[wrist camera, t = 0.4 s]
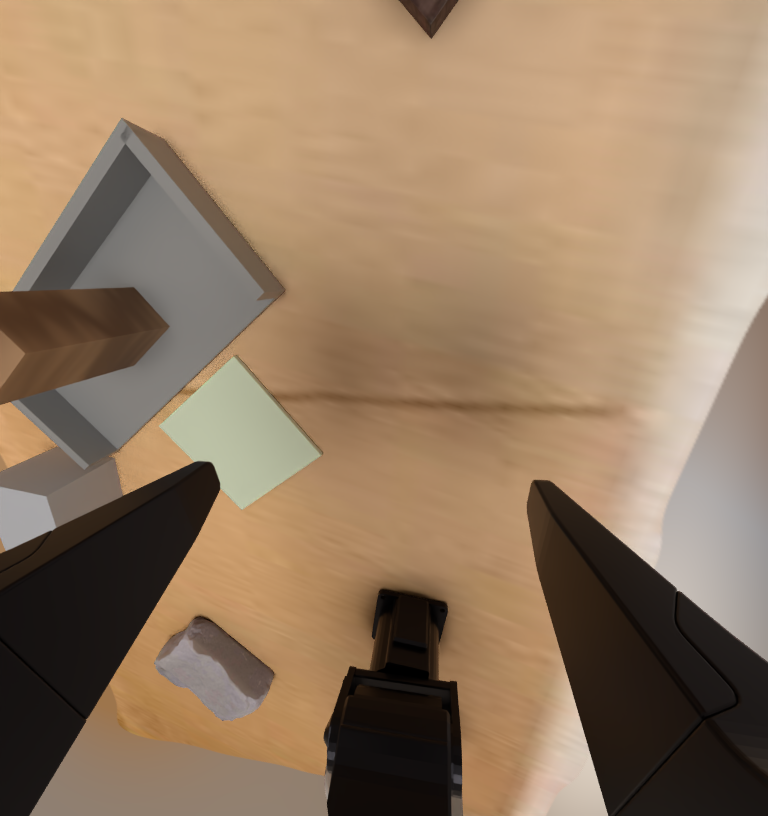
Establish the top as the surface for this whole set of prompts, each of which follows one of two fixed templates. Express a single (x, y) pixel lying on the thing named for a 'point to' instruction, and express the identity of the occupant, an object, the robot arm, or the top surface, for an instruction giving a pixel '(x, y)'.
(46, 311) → the walnut box
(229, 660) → the stone block
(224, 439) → the pad
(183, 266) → the parts tray
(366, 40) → the top surface
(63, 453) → the greyblue box
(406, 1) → the model house
